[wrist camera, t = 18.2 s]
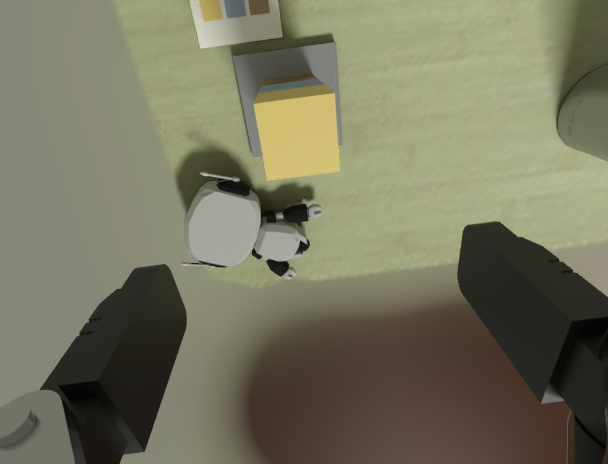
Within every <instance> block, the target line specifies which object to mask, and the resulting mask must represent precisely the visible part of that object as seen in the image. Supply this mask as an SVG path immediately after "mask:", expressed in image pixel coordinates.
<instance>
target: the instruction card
mask: <svg viewBox="0 0 608 464" xmlns="http://www.w3.org/2000/svg"><path fill="white" fill-rule="evenodd" d="M189 2H190V6H191V10H192V14H193V19H194V23H195V27H196V31H197V35H198V40H199V44H200V48H208V47H216V46H223V45H230V44H238V43H245V42H252V41H259V40H267V39H274V38H281V37H283V35H282V27H281V20H280V12H279V4H278V0H189Z"/></svg>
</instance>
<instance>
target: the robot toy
mask: <svg viewBox="0 0 608 464" xmlns="http://www.w3.org/2000/svg"><path fill="white" fill-rule="evenodd" d="M200 174H202V175H203V176H212V177H217V178H219V180H218V181H211V182H207V183H206V184H205V185H203V186H202V187H201V188H200V189H199V190H198V192H197V193H196V195H195V197H194V199H193V201H192V203H191V206H190V208H189V211H188V213H187V216H186V218H185V235H184V236H185V244H186V247H187V249H188V251H189V253H190V254H191V255H192V256H193V257H194V258H196V259H197V260H199V262H201V263H187V262H182V263H180V264H181V265H182V266H187V265H190V266H210V268H215V267H227V266H233V265H237V264H238V263H240V262H241V261H243V260H244V259H245V258H246V257H247V256H248V254H249V253H250V252H251V250H252V248H253V246H254V248H253V250H252V255H253V256H255V257H256V258H257V259H260V258H263V259H264V260H266V262H267V264H268V266H269V268H270V270H271V271H273V272H274V273H276V274H277V275H279V276H280V277H281V276H283V277H284V278H286V279H292V278H293V277H292V275H293V276H295V275H296V270H295V269H294V268H293V267H289V264H288V262H287V261H286V260H288V259H297V258H299V257H300V256H302V255H303V251H306V250H307V249H308V248H309V246H310V242H309V240H308V239H307V238H306V235H305V231H304V229H303V228H302V227H300V226H299V225H297V223H298V222H305V221H308V217H311V218H317V217H320V216H321V211H318V210H321V206H319V205H317V204H312V205H311V206H309V207H308V208H307V206H306V204H300V205H292V206H290V207H289V208H287V209H286V210H285V211H283V212H280V213H275V211H274V210H271V211H265V215H266V216H264V217H263V218H261V211H260V202H259V199H258V197H257V195H256V194H255V193H254V192H252V191H251V190H250V186H249V185H247V184H246V183H244V182H243V181H240V179H239V177H234V176H233V177H227V176H222V175H216V174H210V173H208V172H201V173H200ZM291 274H292V275H291Z"/></svg>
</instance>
